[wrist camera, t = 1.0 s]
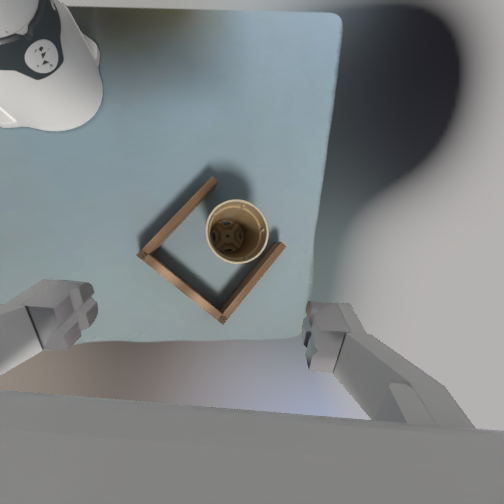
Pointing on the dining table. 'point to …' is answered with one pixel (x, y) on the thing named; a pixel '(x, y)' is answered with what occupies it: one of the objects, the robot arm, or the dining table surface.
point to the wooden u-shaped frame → (217, 313)
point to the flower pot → (237, 231)
